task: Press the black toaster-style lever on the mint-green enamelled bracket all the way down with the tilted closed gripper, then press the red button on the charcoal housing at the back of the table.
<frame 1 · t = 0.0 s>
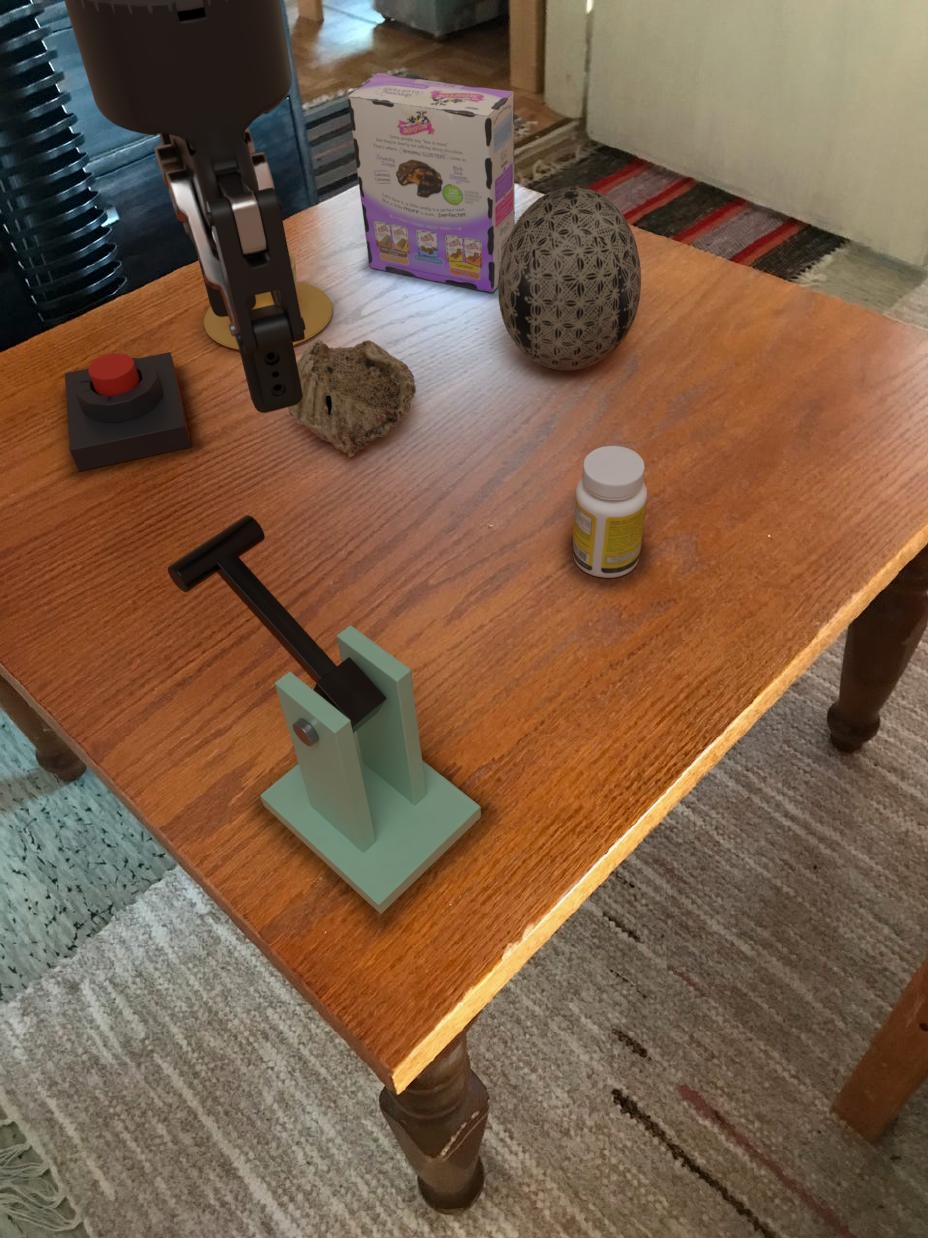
hand: (255, 355, 47), 24 cm above the table, tool pointing down, fingers open, 8 cm apart
lever: (285, 629, 49), point 13 cm above the table, hinge at 25.0°
button: (114, 374, 79), point 4 cm above the table, slide at 0.1 cm
supplement bottle: (605, 558, 70), on the table
decorative egg: (565, 361, 86), on the table
candy box: (441, 269, 97), on the table
cup: (269, 320, 92), on the table
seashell: (354, 423, 82), on the table
button housing: (130, 419, 83), on the table
bracket: (371, 811, 57), on the table
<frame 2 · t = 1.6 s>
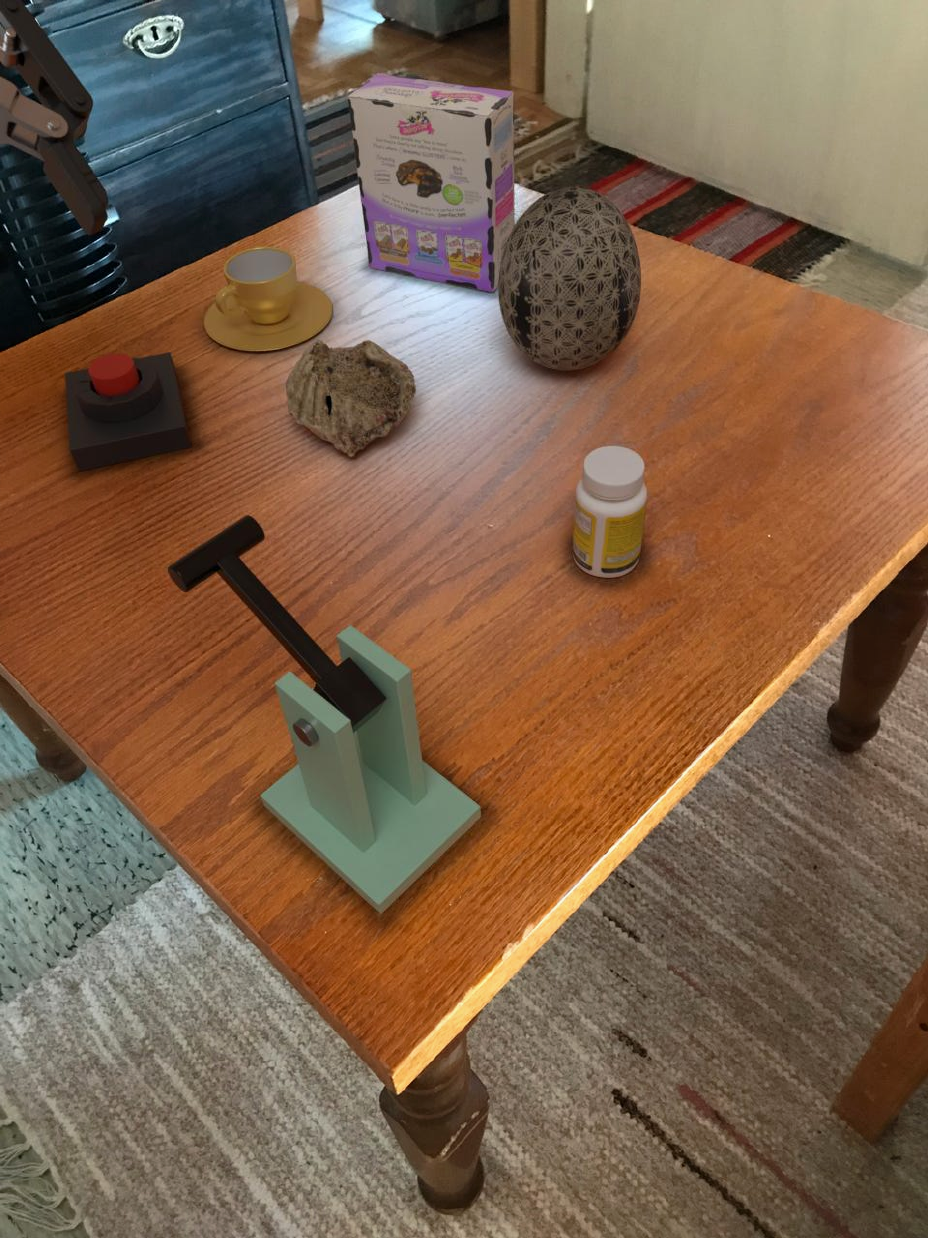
hand: (19, 260, 45), 28 cm above the table, tool tilted 45°, fingers open, 8 cm apart
nothing on the table moved.
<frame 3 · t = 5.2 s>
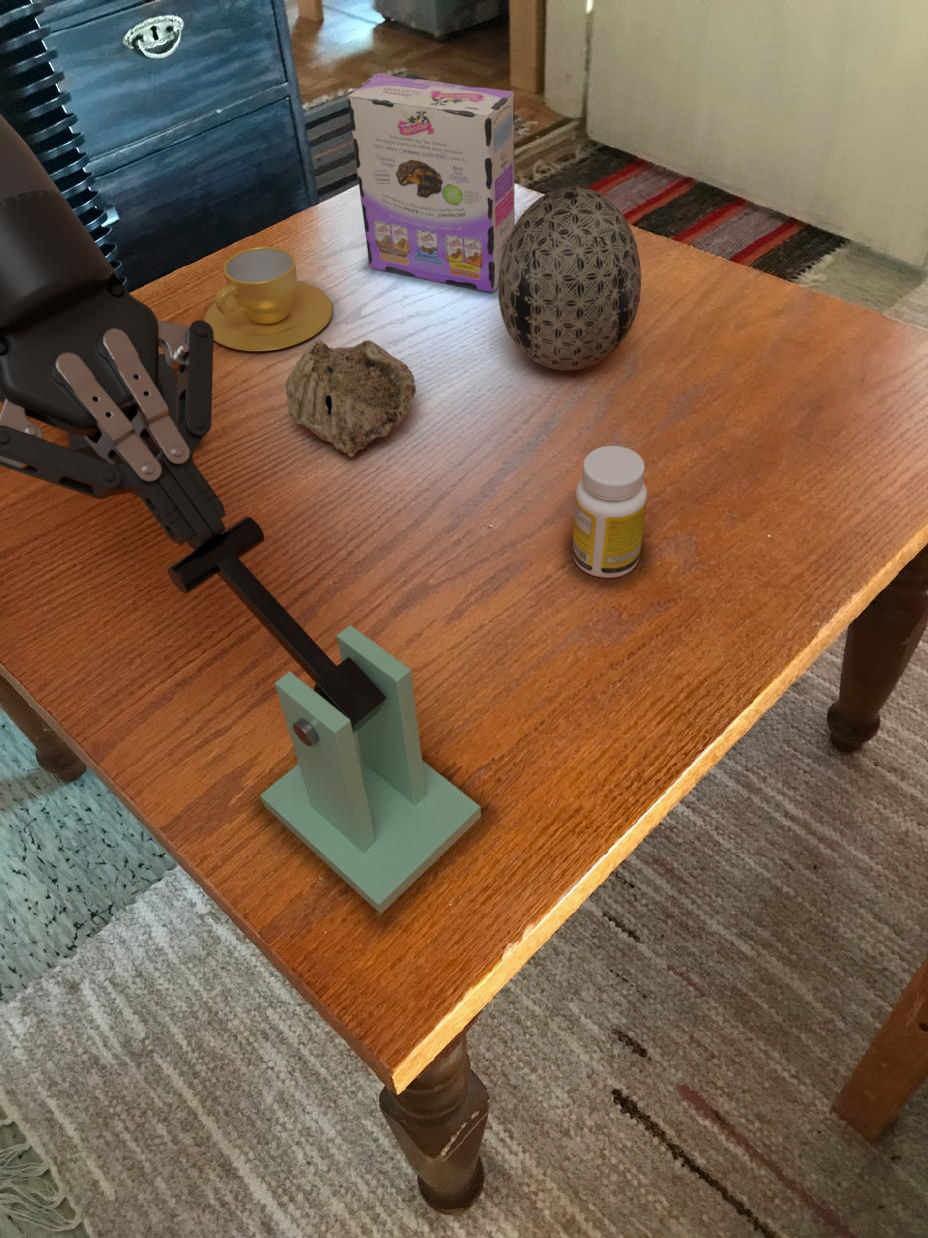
hand: (210, 539, 50), 16 cm above the table, tool tilted 45°, fingers closed
lever: (285, 629, 49), point 13 cm above the table, hinge at 24.1°, touching gripper
everything else where it was.
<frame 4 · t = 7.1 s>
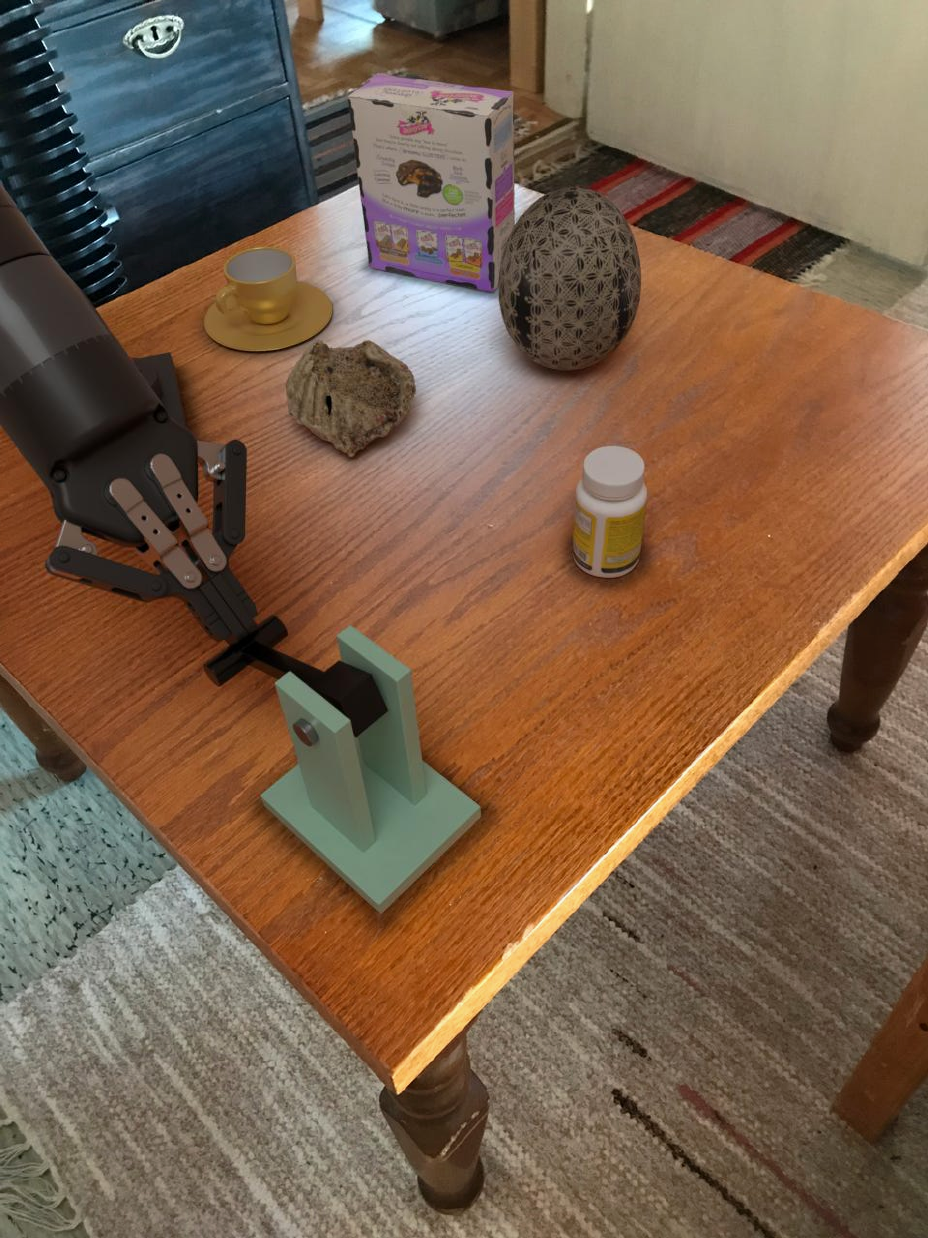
hand: (244, 636, 55), 8 cm above the table, tool tilted 45°, fingers closed
lever: (296, 674, 52), point 9 cm above the table, hinge at -21.9°, touching gripper
everything else where it was.
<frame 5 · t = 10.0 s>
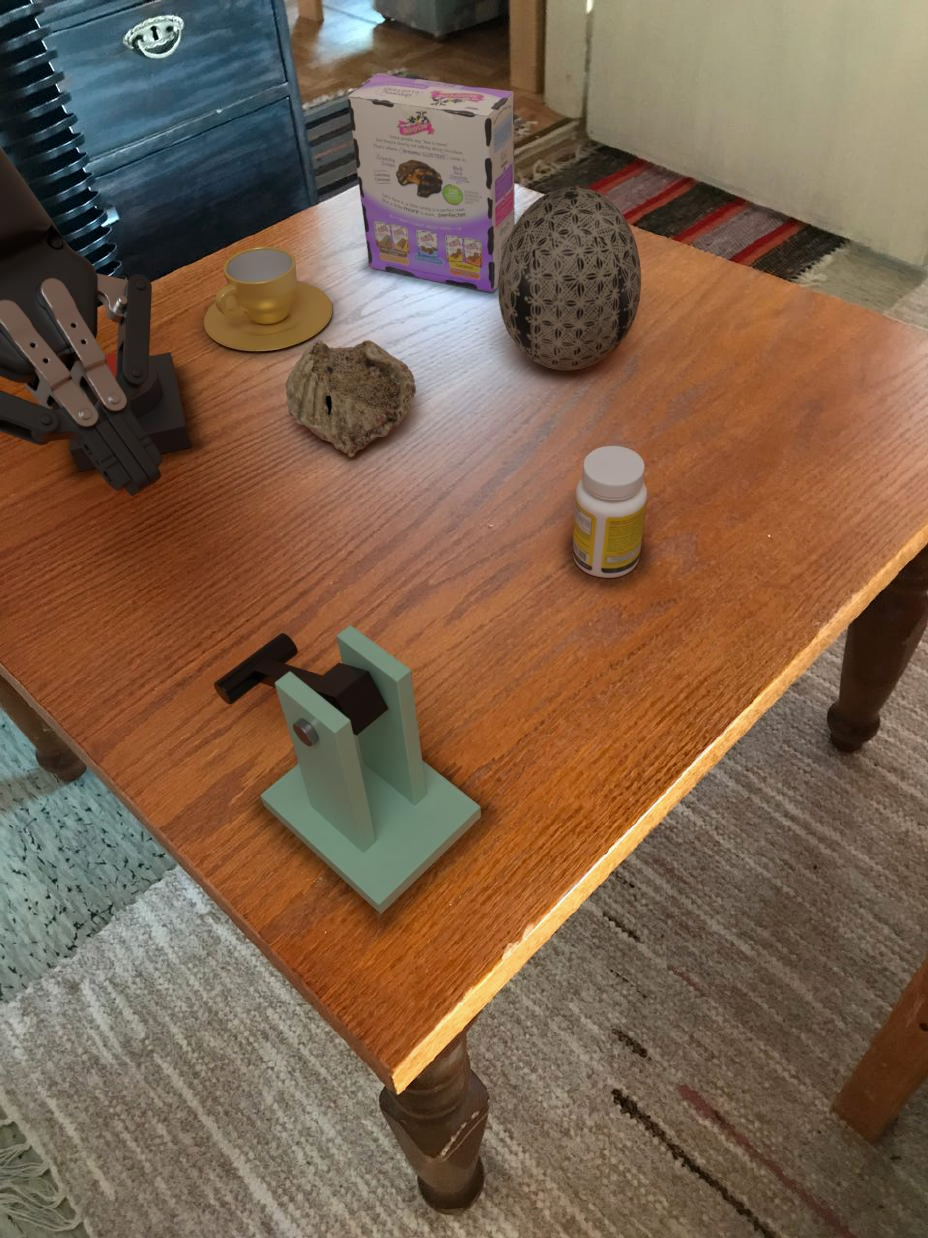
hand: (147, 485, 51), 17 cm above the table, tool tilted 45°, fingers closed
lever: (301, 683, 52), point 9 cm above the table, hinge at -29.3°
everything else where it was.
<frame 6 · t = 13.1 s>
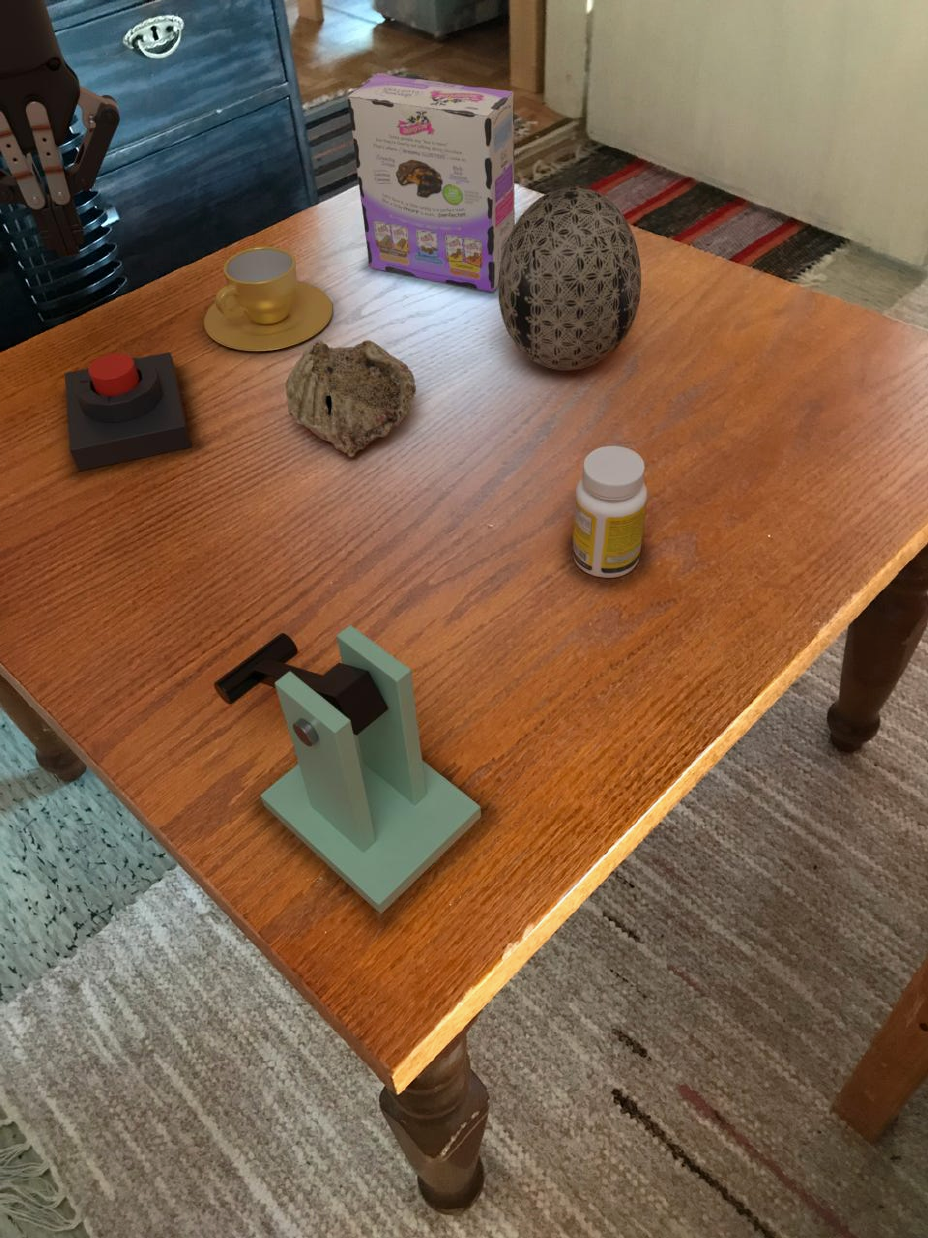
hand: (69, 250, 71), 15 cm above the table, tool pointing down, fingers closed
nothing on the table moved.
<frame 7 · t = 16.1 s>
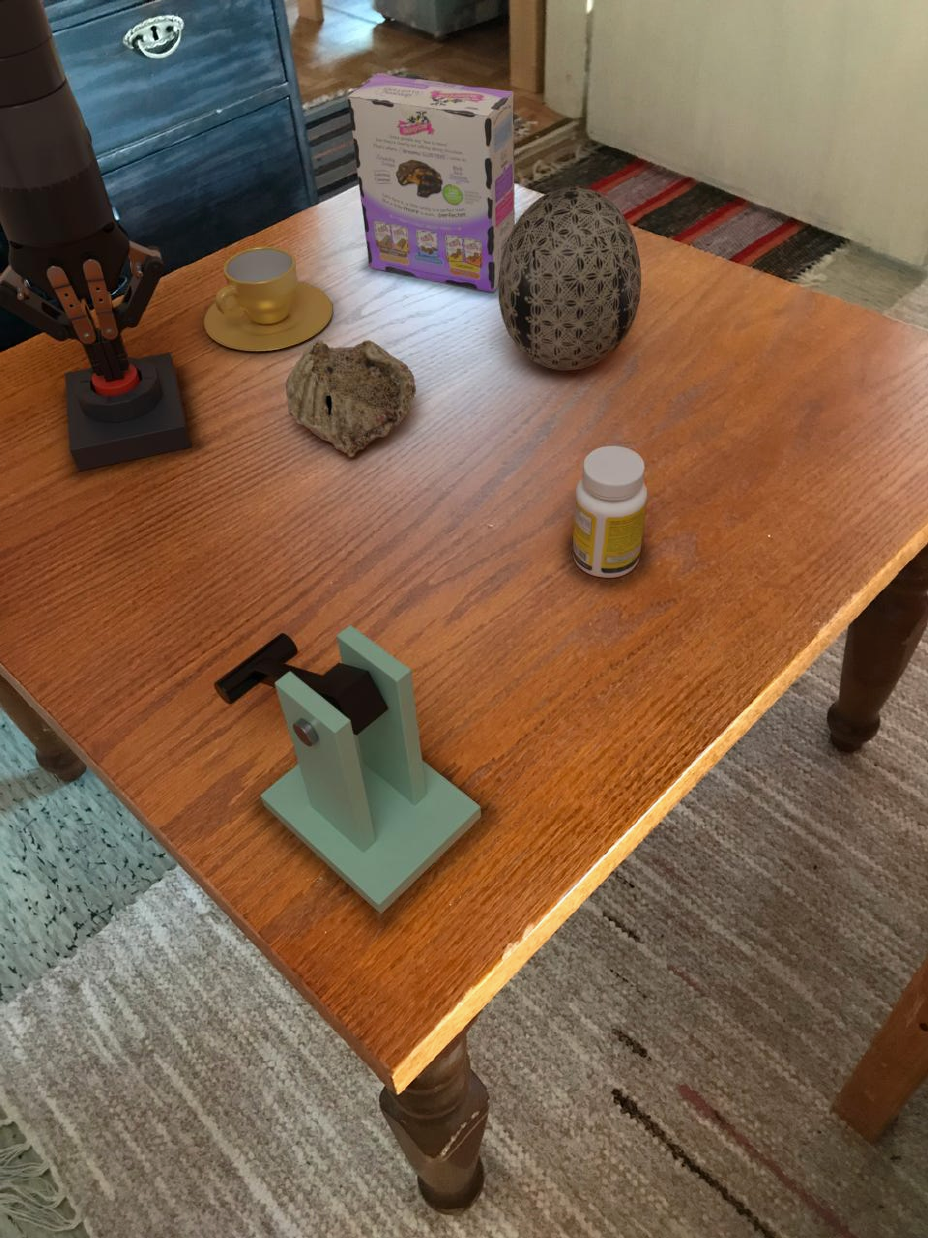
hand: (115, 374, 79), 5 cm above the table, tool pointing down, fingers closed
button: (117, 383, 80), point 4 cm above the table, slide at -0.8 cm, touching gripper
everything else where it was.
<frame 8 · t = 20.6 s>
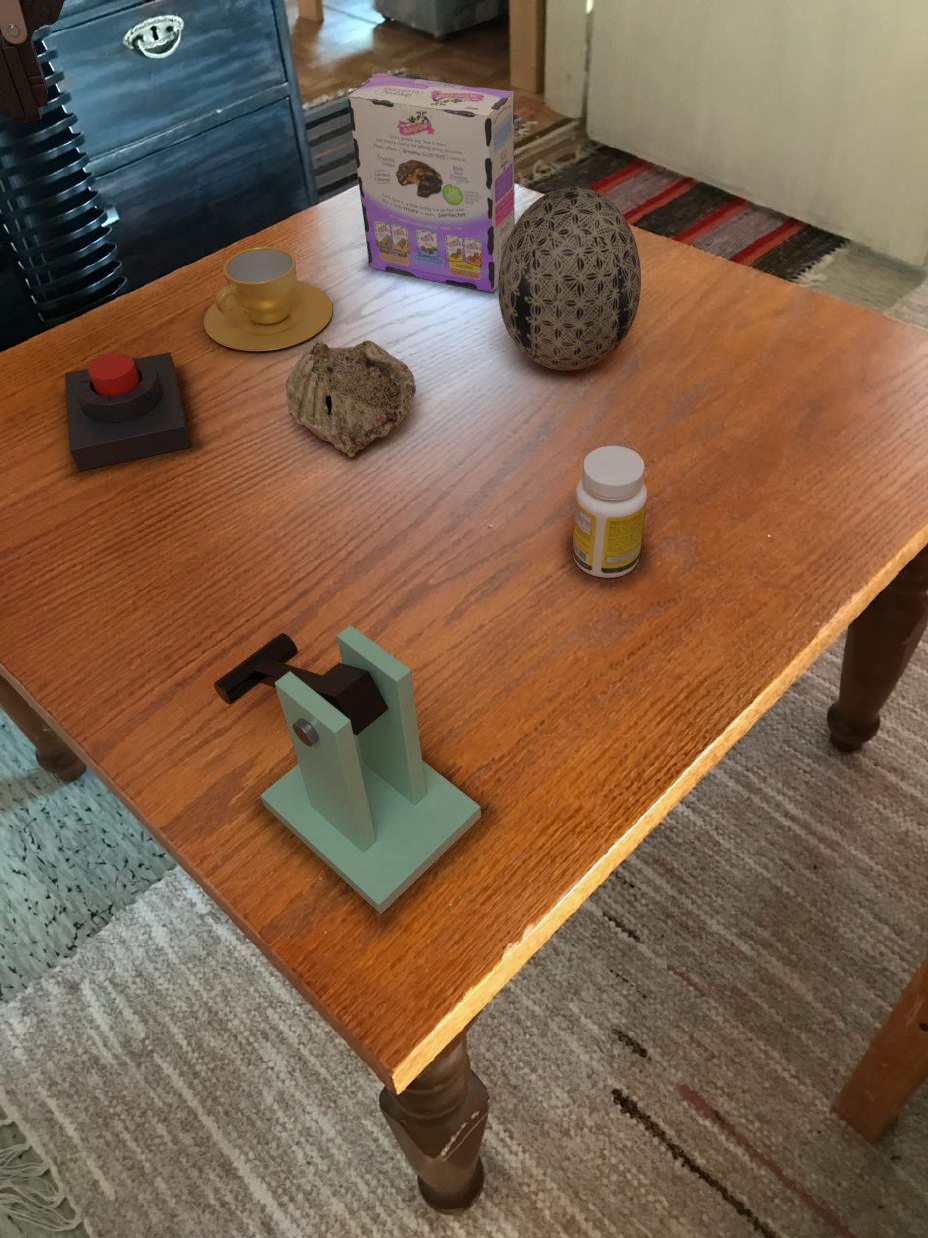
hand: (28, 115, 53), 29 cm above the table, tool pointing down, fingers closed
button: (114, 374, 79), point 4 cm above the table, slide at 0.1 cm
everything else where it was.
at the end: lever at -29° (first picture: +25°); button pushed in 1.0 cm at the most during the clip, back to where it started at the end; button slide at 0.1 cm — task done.
